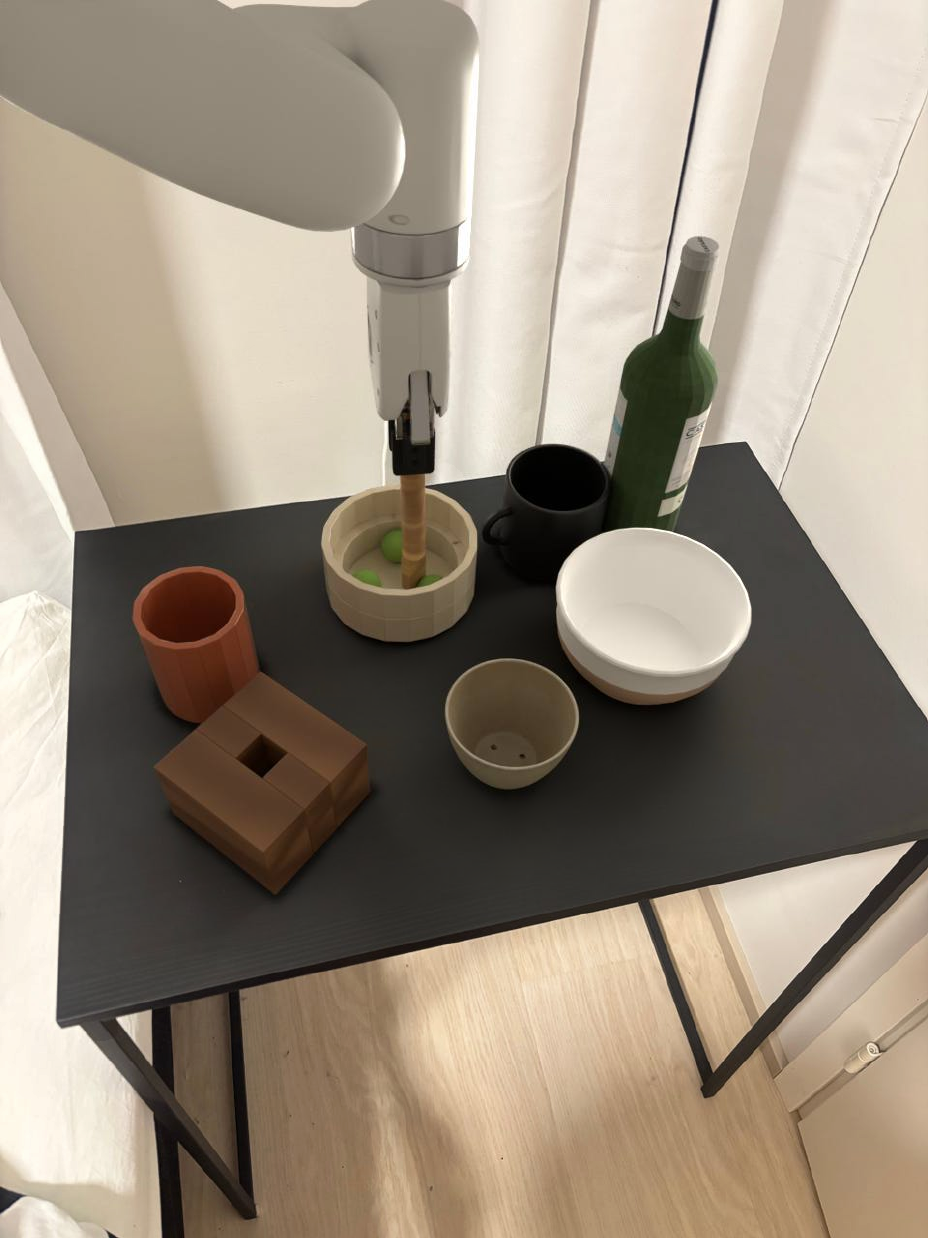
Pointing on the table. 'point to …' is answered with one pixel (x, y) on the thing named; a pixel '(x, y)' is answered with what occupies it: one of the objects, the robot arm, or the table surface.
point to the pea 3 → (429, 580)
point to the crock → (196, 639)
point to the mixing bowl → (398, 566)
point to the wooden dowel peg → (413, 528)
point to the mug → (549, 508)
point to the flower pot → (510, 721)
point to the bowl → (650, 614)
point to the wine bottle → (663, 405)
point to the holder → (266, 780)
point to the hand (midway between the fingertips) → (411, 459)
